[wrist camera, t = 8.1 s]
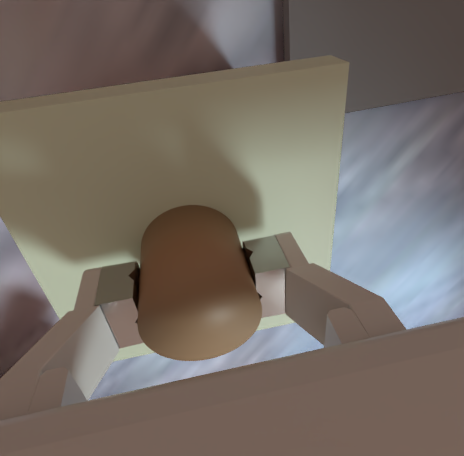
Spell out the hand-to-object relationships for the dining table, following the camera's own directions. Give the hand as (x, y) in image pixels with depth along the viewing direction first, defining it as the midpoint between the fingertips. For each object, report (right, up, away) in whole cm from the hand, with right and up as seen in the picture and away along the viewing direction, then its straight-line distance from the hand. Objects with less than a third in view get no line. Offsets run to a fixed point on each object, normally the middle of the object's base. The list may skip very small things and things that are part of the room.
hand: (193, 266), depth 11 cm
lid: (0, +1, +2) cm, 2 cm away
